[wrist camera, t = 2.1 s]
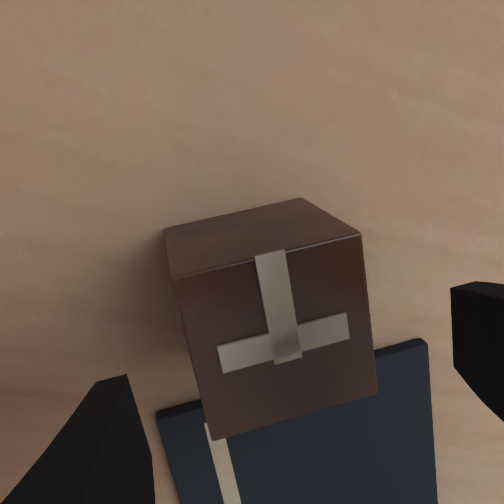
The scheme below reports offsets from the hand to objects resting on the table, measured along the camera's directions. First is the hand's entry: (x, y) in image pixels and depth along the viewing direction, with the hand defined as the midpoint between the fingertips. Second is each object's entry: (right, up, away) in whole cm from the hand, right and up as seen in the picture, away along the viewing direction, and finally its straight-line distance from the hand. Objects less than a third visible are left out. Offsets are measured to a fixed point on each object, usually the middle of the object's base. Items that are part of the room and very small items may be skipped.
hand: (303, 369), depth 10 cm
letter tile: (-1, +2, +6) cm, 6 cm away
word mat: (+2, -10, +10) cm, 14 cm away
